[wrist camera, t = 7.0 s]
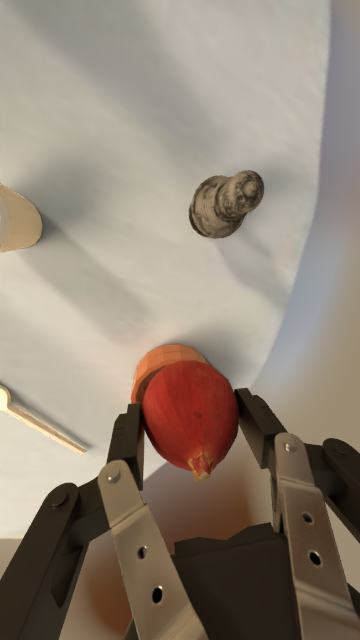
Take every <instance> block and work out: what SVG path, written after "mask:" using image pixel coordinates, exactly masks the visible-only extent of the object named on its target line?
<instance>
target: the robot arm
mask: <svg viewBox="0 0 360 640" xmlns="http://www.w3.org/2000/svg"><path fill="white" fill-rule="evenodd" d="M234 394H235V396H236V398H237V401H238V404H239V421H238V424H239V426H240V428H241V429H242V432H243V434H244V435H245V438H246V440H247V442H248V444H249V446H250V448H251V450H252V452H253V454H254V456H255V458H256V460H257V462H258V464H259V466H260V468H261V469H265V468H268V469H269V471H270V473H271V475H270V482H271V496H272V509H273V527H272V525H271V523H270V522H269V523H264V524H259V525H254V526H250V527H247V528H245V529H243V530H242V531H240V532H239V533H237V534H236V535H234V536H232V537H231V538H229V539H228V540H217V539H209V538H201V537H197V538H192V539H188V540H183V541H178V542H175V552H174V553H172V554H171V555H169V552H168V550H167V548H166V545H165V543H164V541H163V539H162V537H161V534H160V532H159V530H158V527H157V525H156V523H155V520H154V518H153V516H152V514H151V511H150V509H149V507H148V505H147V504H146V503H144V501H143V499H142V497H141V494H140V492H139V491H141V490H143V466H144V434H145V430H144V427H143V414H142V406H141V402H139V403H132V404H128V409H127V413H125V414H120V415H119V416H118V418H117V419H116V421H115V424H114V429H113V433H112V438H111V443H110V448H109V453H108V458H107V463H106V465H105V466H104V467H103V468H102V470H101V471H100V473H99V475H98V476H97V477H96V478H95V479H93V480H91V481H90V482H88V483H86V484H84V485H82V486H79V487H77V486H76V485H75V484H73V483H64V484H61V485H59V486H57V487H56V488H55V489H53V490H52V491H51V492H50V493H49V494H48V495H47V497H46V498H45V500H44V501H43V503H42V505H41V507H40V509H39V511H38V512H37V514H36V516H35V518H34V520H33V522H32V523H31V525H30V527H29V529H28V531H27V532H26V534H25V536H24V538H23V540H22V542H21V544H20V545H19V547H18V549H17V551H16V552H15V554H14V556H13V558H12V560H11V562H10V563H9V565H8V567H7V569H6V571H5V573H4V575H3V576H2V578H1V580H0V640H58V639H59V636H60V633H61V630H62V627H63V624H64V620H65V618H66V614H67V611H68V608H69V605H70V602H71V599H72V595H73V592H74V589H75V586H76V583H77V580H78V577H79V574H80V571H81V567H82V564H83V561H84V558H85V555H86V552H87V549H88V545H89V542H90V541H92V540H93V539H95V538H97V537H98V536H100V535H102V534H103V533H105V532H107V531H108V530H110V531H111V535H112V539H113V542H114V546H115V550H116V554H117V558H118V561H119V565H120V569H121V573H122V577H123V580H124V584H125V588H126V592H127V596H128V600H129V603H130V607H131V611H132V614H133V617H132V620H131V622H130V624H129V626H128V628H127V631H126V633H125V635H124V637H123V639H122V640H360V593H359V592H358V591H357V590H356V589H354V588H353V587H352V586H351V585H350V584H349V583H347V582H346V578H345V574H344V571H343V567H342V564H341V560H340V556H339V553H338V549H337V545H336V542H335V538H334V535H333V531H332V528H331V523H330V520H329V517H328V513H327V509H326V505H325V502H326V504H327V505H328V506H329V507H330V508H331V510H332V511H333V512H334V513H335V514H336V516H337V517H338V518H339V519H340V520H341V522H342V523H343V524H344V525H345V526H346V527H347V529H348V530H349V531H350V532H351V534H352V535H353V536H354V537H355V538H356V540H357V541H358V542H359V543H360V453H358V452H357V451H356V450H355V449H354V448H353V447H351V446H350V445H349V444H347V443H345V442H344V441H341V440H338V439H334V438H329V439H326V440H325V441H324V442H323V446H320V445H312V444H306V443H303V442H302V441H301V440H300V439H299V438H298V437H297V436H295V435H293V434H290V433H288V432H287V430H286V429H285V428H284V426H283V425H282V424H281V422H280V421H279V420H278V418H277V417H276V416H275V414H274V413H273V412H272V410H271V409H270V408H269V406H268V405H267V403H266V402H265V401H264V400H263V399H262V398H260V397H259V396H258V395H252V394H251V393H250V391H249V390H248V388H241V389H235V391H234ZM324 501H325V502H324Z"/></svg>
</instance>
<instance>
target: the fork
mask: <svg viewBox="0 0 360 640" xmlns="http://www.w3.org/2000/svg"><path fill="white" fill-rule="evenodd" d="M0 410H3V411H5V412H7V413H8V414H10V415H12V416H14V417H15V418H17V419H19V420H21V421H22V422H24V423H26V424H28V425H30V426H31V427H33V428H35V429H37V430H38V431H40V432H42V433H44V434H45V435H47V436H49V437H51V438H52V439H54V440H56V441H58V442H59V443H61V444H63V445H65V446H66V447H68V448H70V449H72V450H74V451H75V452H77V453H79V454H81V455H83V454H84V453H85V452H86V450H85V449H83V448H81V447H80V446H78V445H76V444H75V443H73V442H72V441H70V440H68V439H67V438H65V437H64V436H62V435H60V434H59V433H57V432H55V431H54V430H52V429H51V428H49V427H47V426H46V425H44V424H43V423H41V422H39V421H38V420H36V419H35V418H33V417H31V416H30V415H28V414H26V413H25V412H23V411H22V410H20V409H18V408H17V407H15V406H14V405H12V403H11V396H10V392H9V391H8V389H7V388H5V387H4V386H2V385H0Z"/></svg>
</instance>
